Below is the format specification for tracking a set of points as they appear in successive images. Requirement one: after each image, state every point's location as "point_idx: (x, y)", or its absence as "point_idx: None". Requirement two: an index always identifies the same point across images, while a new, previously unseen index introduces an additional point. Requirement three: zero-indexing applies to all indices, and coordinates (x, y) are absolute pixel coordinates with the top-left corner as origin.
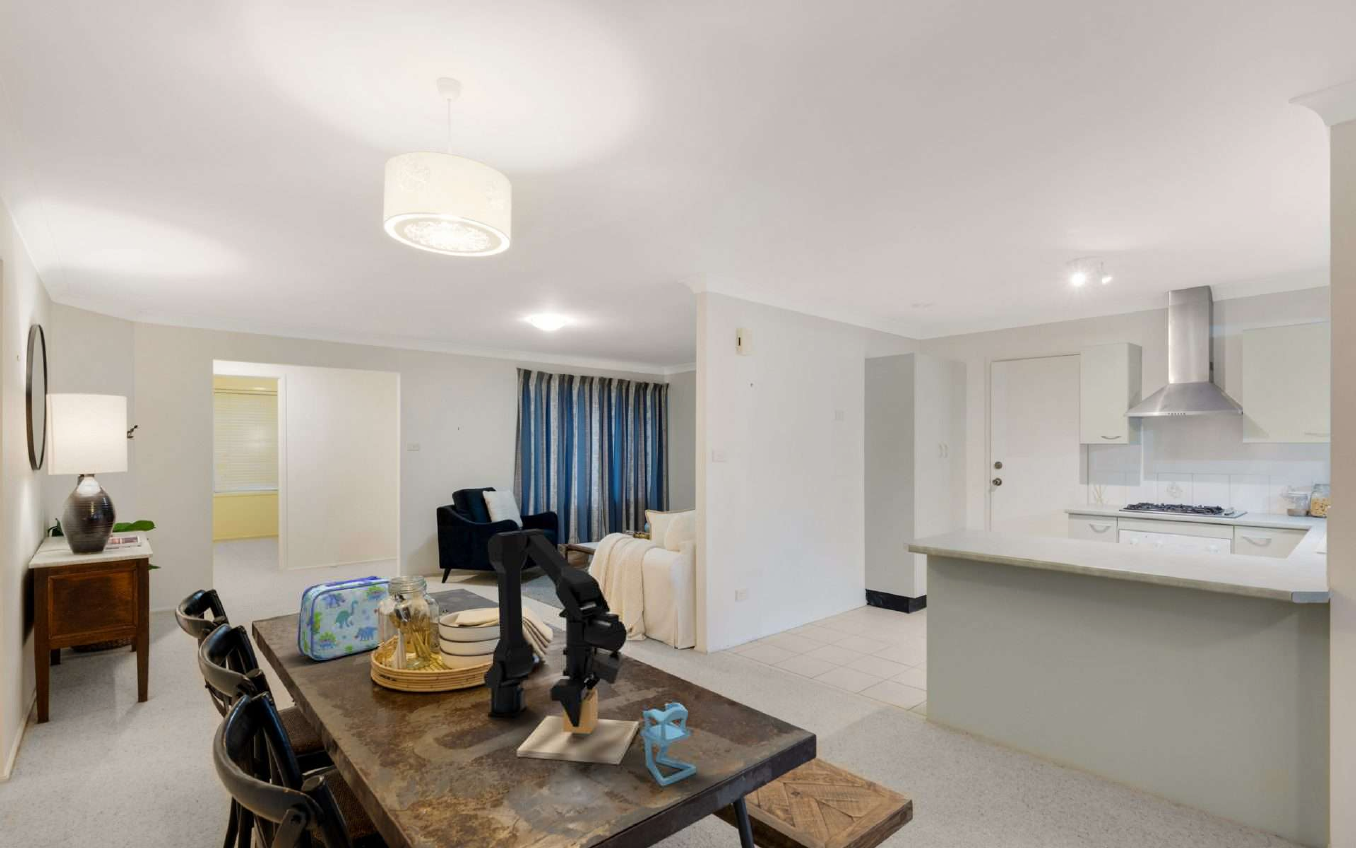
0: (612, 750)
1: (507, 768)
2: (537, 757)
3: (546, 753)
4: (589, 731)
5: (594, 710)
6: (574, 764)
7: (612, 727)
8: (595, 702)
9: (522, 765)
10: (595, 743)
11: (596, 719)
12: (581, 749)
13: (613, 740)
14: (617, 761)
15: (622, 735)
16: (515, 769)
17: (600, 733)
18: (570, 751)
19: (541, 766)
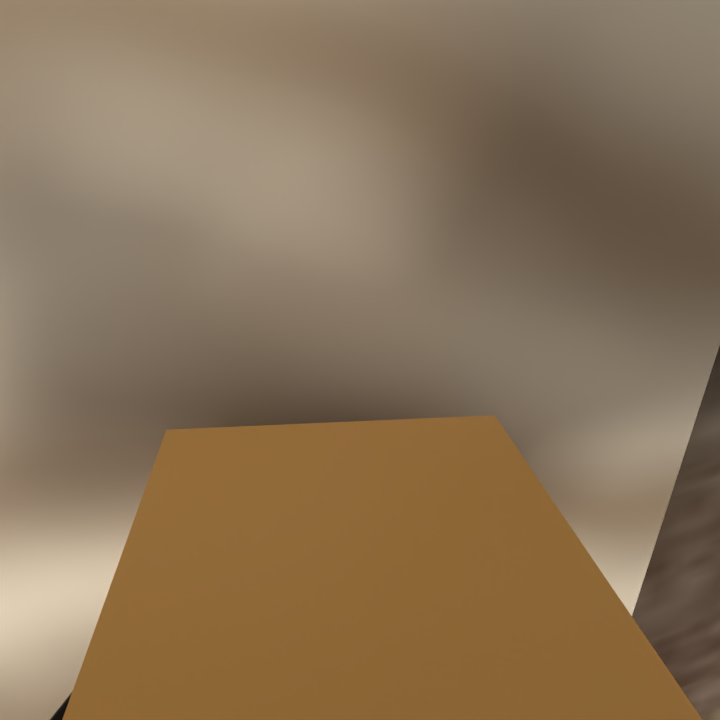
0: (661, 74)
1: (699, 686)
2: None
3: (632, 596)
4: (504, 431)
5: (313, 575)
6: (710, 376)
7: (55, 240)
8: (245, 697)
9: (676, 643)
10: (496, 311)
11: (215, 459)
12: (610, 396)
13: (410, 130)
14: None
15: (251, 37)
16: (716, 652)
17: (252, 332)
18: (640, 465)
19: (704, 555)
